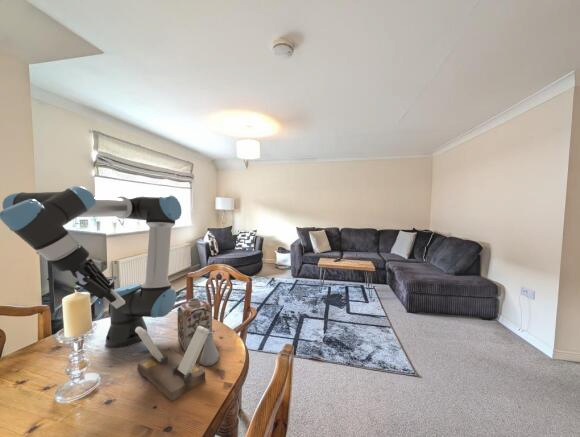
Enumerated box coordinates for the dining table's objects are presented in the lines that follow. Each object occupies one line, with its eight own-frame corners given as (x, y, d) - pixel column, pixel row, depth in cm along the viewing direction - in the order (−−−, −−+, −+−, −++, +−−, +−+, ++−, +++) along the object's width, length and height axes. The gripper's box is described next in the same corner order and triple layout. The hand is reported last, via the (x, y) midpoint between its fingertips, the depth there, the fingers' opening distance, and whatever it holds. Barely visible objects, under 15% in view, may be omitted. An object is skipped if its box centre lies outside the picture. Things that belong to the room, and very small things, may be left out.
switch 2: (186, 376, 71) (207, 329, 78) (176, 368, 75) (197, 324, 81) (191, 376, 73) (211, 330, 79) (181, 369, 76) (201, 325, 82)
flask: (213, 367, 81) (212, 340, 81) (195, 365, 82) (194, 338, 82) (223, 355, 88) (222, 330, 88) (206, 353, 90) (205, 328, 89)
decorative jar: (184, 352, 91) (183, 307, 90) (177, 339, 100) (176, 299, 99) (213, 341, 98) (212, 300, 98) (204, 330, 107) (204, 293, 107)
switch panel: (172, 401, 66) (171, 387, 66) (137, 369, 80) (137, 357, 80) (205, 379, 75) (205, 366, 75) (169, 354, 89) (169, 343, 89)
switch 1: (159, 362, 79) (140, 334, 74) (152, 356, 83) (132, 329, 78) (165, 357, 81) (146, 329, 76) (157, 352, 84) (138, 324, 79)
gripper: (54, 250, 66) (109, 300, 78) (41, 271, 56) (107, 325, 68) (83, 236, 69) (132, 287, 81) (76, 254, 59) (133, 309, 71)
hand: (120, 304), depth 75 cm, fingers closed
